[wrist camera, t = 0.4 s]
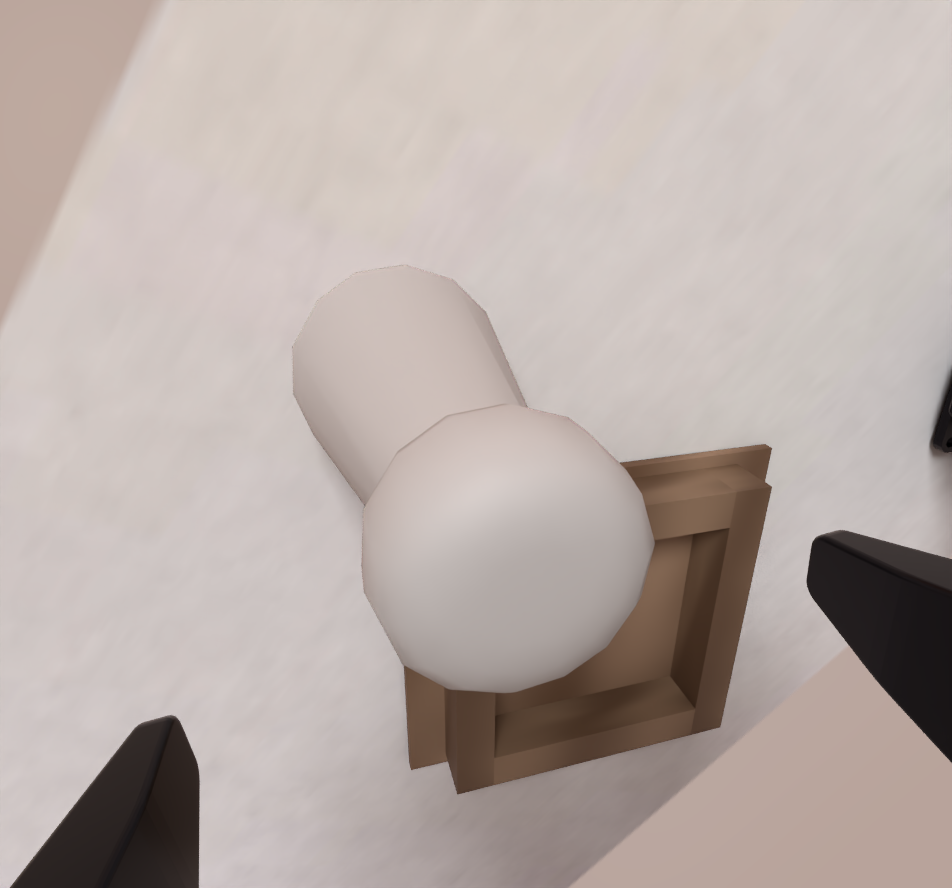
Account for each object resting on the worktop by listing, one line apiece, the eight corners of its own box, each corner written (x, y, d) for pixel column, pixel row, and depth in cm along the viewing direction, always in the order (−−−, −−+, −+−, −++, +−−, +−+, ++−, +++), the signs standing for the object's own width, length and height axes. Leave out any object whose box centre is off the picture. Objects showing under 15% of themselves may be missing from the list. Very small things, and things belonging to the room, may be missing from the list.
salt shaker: (418, 462, 22) (576, 797, 10) (256, 390, 19) (229, 724, 8) (508, 311, 21) (799, 502, 9) (347, 214, 18) (471, 309, 7)
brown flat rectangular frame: (764, 444, 26) (808, 469, 24) (715, 689, 31) (747, 728, 29) (394, 491, 22) (407, 527, 20) (409, 761, 27) (420, 812, 25)
